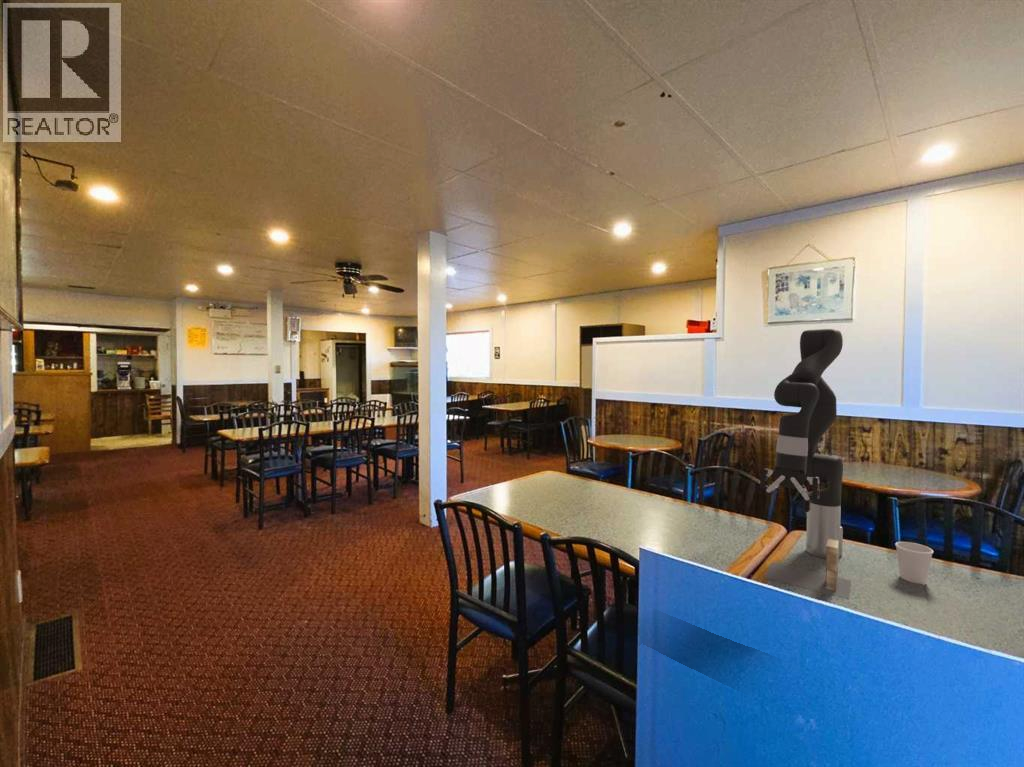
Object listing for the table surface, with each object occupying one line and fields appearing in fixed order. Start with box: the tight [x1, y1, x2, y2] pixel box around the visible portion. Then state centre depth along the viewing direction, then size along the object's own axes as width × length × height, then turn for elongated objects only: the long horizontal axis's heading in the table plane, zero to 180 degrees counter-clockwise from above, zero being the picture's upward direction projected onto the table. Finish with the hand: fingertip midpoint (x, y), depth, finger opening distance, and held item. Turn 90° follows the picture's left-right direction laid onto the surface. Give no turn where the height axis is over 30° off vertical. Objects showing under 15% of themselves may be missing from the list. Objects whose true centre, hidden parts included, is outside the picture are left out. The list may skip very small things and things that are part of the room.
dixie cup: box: [894, 541, 934, 586], centre depth 130 cm, size 8×8×10 cm
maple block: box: [825, 539, 839, 591], centre depth 126 cm, size 2×7×12 cm, turn 141°
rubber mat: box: [763, 561, 852, 600], centre depth 130 cm, size 20×14×1 cm
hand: (787, 509), depth 126 cm, fingers open, 8 cm apart
